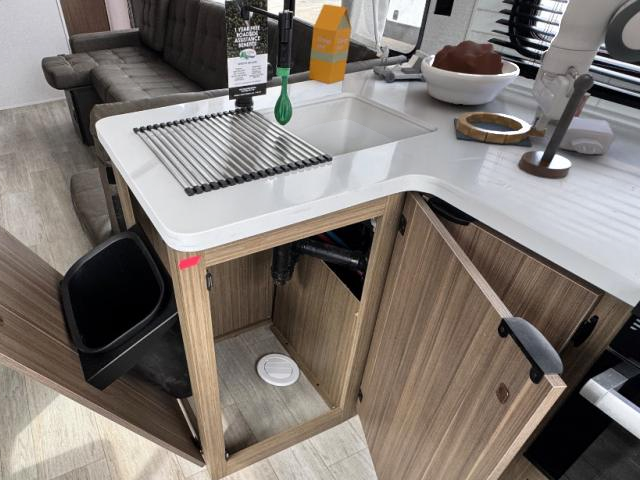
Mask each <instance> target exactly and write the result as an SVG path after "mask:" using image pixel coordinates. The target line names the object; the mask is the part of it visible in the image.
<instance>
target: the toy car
mask: <svg viewBox="0 0 640 480" xmlns="http://www.w3.org/2000/svg"><path fill="white" fill-rule="evenodd" d="M389 53H390V47H389V46H388V45H384V46H383V47H381V46H379V50H378V51H377V53H376V56H377V57H378V58H381V61H380V63H377V64H375V65H373V66H372V72H373V73H374V74H375V75H382V76H384V81H385V82H386V83H388V84H391V83H393V82H394V81H395V80H403V79H404V80H405V79H421V80H422V81H423V82H425V81H426V80H425V79H424V77H423V74H422V71H421V62H422V61H423V59H425V58H426V57H428V56H431V55H430V54H428V53H426V52H424V51H422V50H420V49H415V54H412V55H411V57H410V59H409V61H408V62H407V63H406V64H403V61H402V60H401V59H397V61H396V64H395V65H394V66H392V67H388V66H386V65H387V61H388V57H389ZM384 59H385V60H384ZM383 61H384V65H383Z"/></svg>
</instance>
